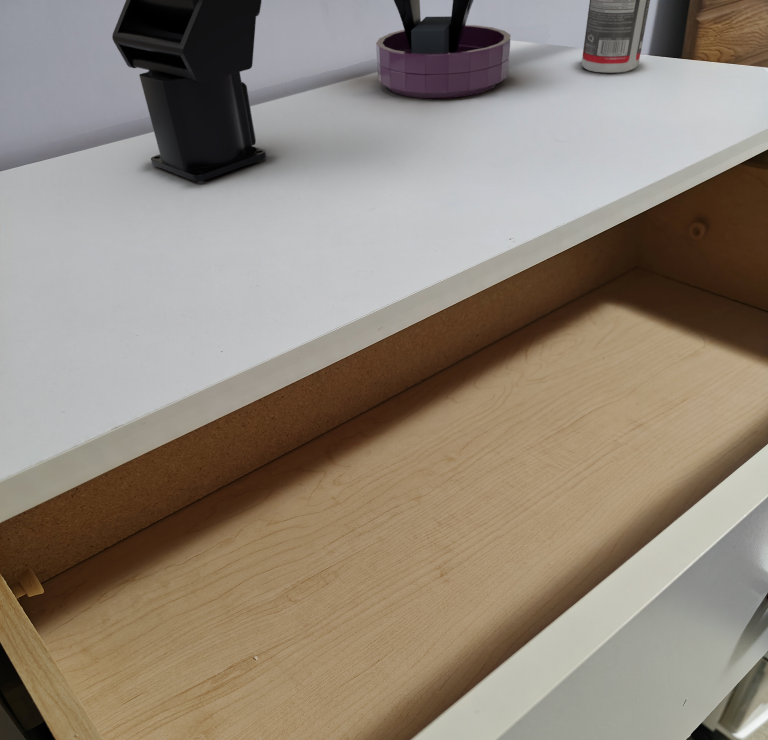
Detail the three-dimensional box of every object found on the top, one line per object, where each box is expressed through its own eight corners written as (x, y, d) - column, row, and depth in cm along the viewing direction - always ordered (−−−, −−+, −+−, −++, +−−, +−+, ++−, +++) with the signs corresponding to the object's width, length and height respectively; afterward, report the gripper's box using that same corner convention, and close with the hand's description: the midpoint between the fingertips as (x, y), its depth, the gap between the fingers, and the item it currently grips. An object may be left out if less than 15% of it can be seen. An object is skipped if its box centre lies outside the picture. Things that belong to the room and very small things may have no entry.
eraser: (443, 82, 62) (444, 30, 60) (412, 82, 63) (411, 30, 60) (455, 66, 66) (456, 16, 64) (425, 65, 67) (425, 16, 64)
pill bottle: (604, 57, 68) (624, -70, 61) (649, 65, 65) (675, -68, 58) (569, 68, 66) (585, -63, 59) (614, 77, 63) (637, -60, 56)
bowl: (449, 108, 59) (450, 61, 56) (352, 87, 65) (349, 44, 62) (533, 77, 64) (537, 33, 62) (437, 60, 71) (437, 20, 68)
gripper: (287, -163, 50) (313, 83, 61) (546, -181, 46) (524, 86, 57) (333, -166, 57) (349, 53, 68) (559, -182, 53) (537, 54, 64)
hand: (434, 61), depth 64 cm, fingers closed on eraser, 3 cm apart
